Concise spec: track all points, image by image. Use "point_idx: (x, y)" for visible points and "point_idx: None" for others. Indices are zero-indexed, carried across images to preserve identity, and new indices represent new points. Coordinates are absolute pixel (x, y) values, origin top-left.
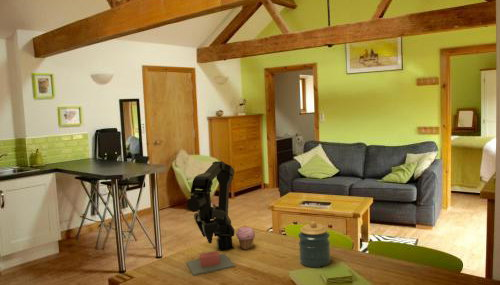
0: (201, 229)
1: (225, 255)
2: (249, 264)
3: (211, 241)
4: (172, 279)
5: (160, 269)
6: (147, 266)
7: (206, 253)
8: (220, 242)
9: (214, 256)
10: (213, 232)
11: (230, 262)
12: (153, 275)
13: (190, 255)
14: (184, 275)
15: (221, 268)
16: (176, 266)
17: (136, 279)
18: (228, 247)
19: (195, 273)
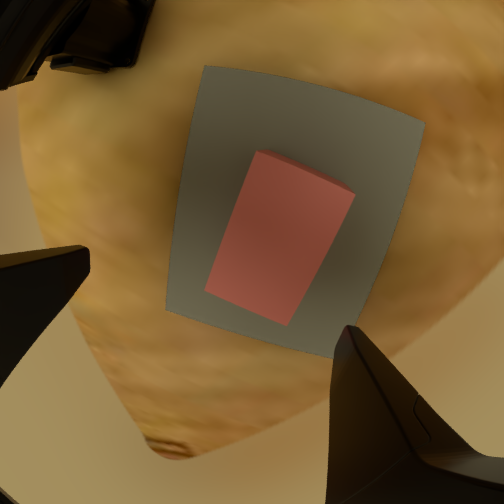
0: (26, 331)
1: (234, 74)
2: (443, 47)
3: (366, 342)
4: (292, 410)
5: (169, 390)
6: (122, 394)
7: (236, 251)
8: (90, 53)
9: (336, 232)
10: (466, 450)
11: (371, 114)
12: (207, 422)
13: (90, 236)
14: (296, 373)
15: (400, 211)
16: (175, 347)
17: (204, 448)
18: (136, 18)
19: None
